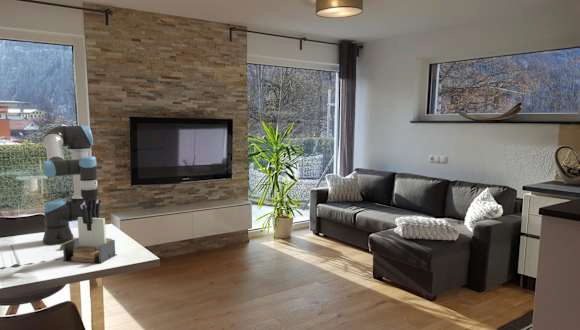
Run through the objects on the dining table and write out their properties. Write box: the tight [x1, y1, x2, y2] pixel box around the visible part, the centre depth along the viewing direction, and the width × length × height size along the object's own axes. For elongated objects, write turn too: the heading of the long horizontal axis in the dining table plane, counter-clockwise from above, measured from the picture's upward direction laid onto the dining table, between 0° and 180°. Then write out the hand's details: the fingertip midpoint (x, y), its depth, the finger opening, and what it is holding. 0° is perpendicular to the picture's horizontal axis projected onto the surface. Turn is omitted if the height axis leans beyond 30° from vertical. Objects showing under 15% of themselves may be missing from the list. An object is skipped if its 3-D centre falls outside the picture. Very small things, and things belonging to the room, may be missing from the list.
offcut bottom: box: [71, 256, 99, 263], centre depth 203 cm, size 5×12×2 cm, turn 78°
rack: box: [62, 237, 119, 265], centre depth 205 cm, size 14×20×10 cm
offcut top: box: [73, 246, 96, 254], centre depth 202 cm, size 4×9×2 cm, turn 78°
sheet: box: [77, 217, 107, 251], centre depth 207 cm, size 1×14×18 cm, turn 78°
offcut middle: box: [73, 251, 99, 258], centre depth 202 cm, size 5×11×2 cm, turn 79°
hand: (92, 236), depth 207 cm, fingers closed on sheet
